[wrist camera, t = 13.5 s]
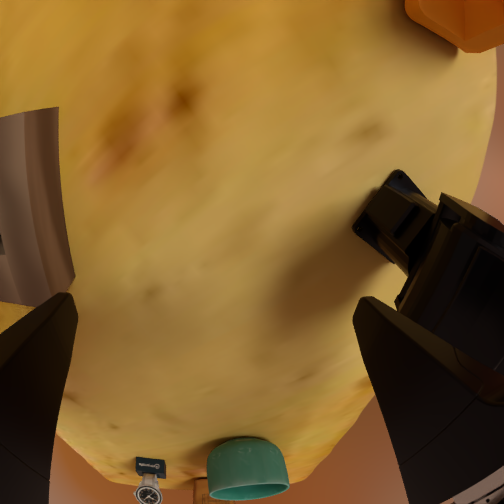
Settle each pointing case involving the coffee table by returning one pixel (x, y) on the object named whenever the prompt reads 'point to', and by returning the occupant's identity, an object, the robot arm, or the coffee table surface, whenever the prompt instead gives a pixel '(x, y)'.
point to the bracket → (462, 21)
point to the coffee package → (206, 494)
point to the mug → (246, 470)
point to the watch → (149, 480)
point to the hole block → (32, 210)
